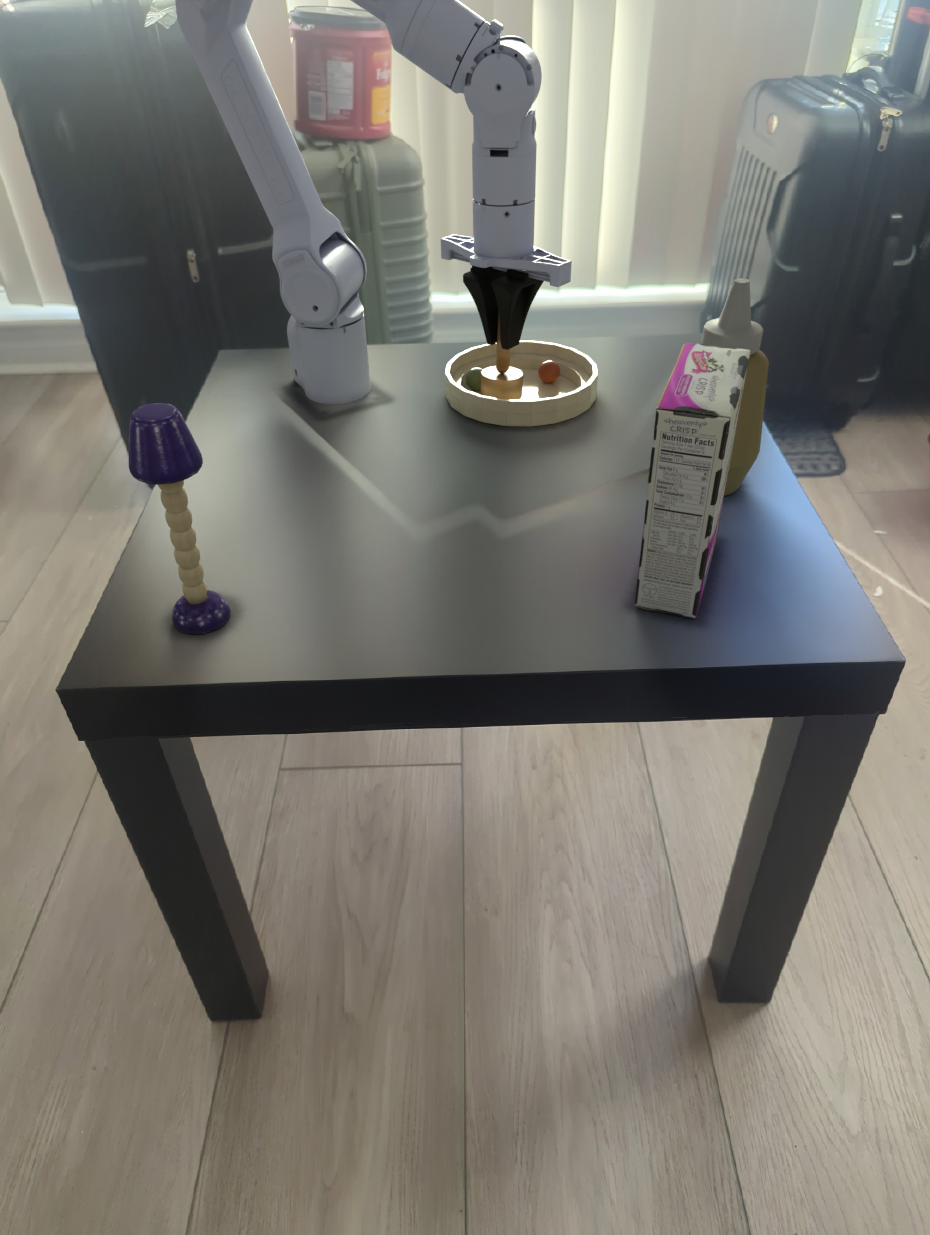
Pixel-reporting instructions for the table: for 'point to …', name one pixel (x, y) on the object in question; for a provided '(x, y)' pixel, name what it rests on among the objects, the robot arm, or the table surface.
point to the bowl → (525, 385)
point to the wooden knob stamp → (502, 376)
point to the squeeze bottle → (745, 334)
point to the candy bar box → (689, 476)
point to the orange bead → (549, 371)
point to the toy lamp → (176, 507)
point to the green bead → (474, 378)
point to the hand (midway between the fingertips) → (502, 344)
